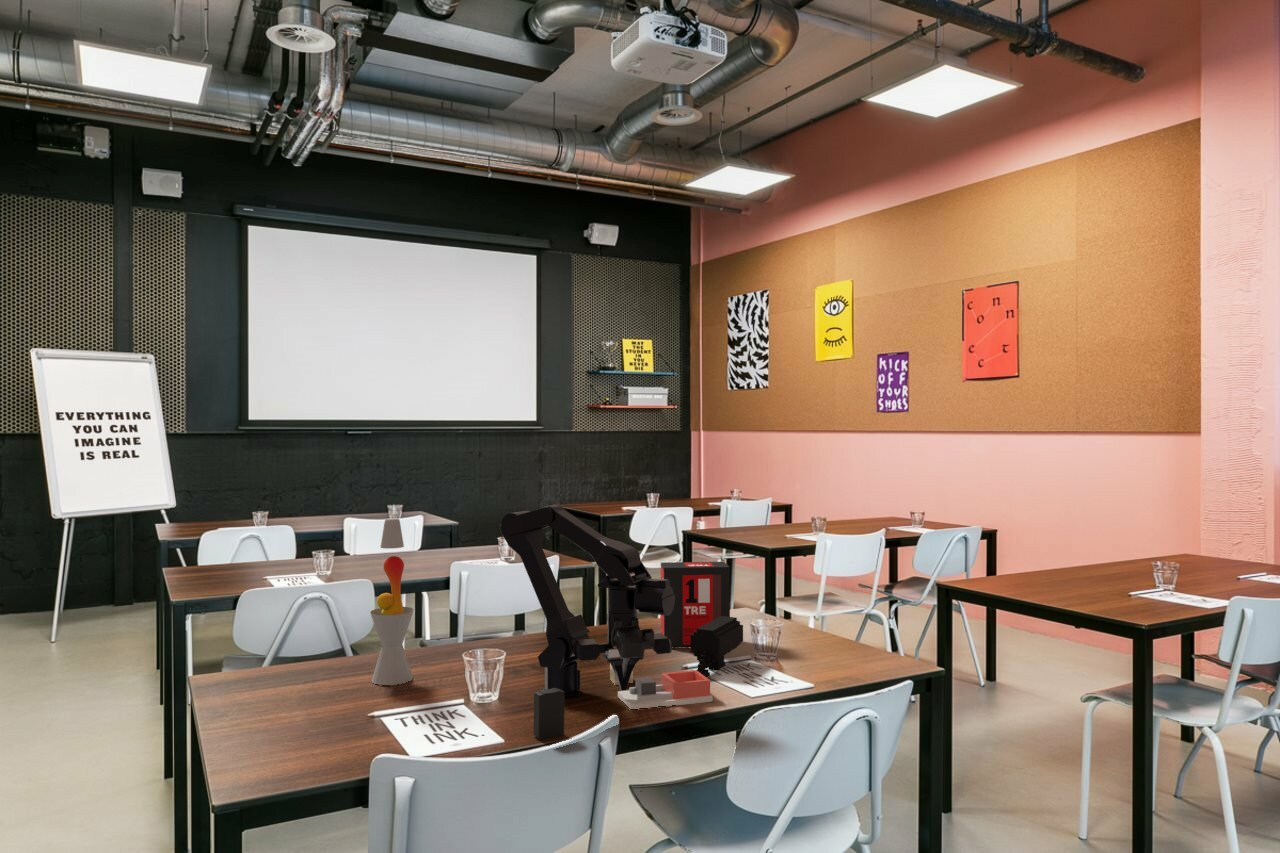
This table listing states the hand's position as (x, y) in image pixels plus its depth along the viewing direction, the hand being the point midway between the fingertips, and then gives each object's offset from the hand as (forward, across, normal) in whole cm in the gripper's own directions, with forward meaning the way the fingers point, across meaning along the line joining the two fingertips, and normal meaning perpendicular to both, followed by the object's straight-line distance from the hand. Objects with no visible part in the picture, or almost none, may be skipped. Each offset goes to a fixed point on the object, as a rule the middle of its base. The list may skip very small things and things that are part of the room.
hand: (622, 690), depth 162 cm
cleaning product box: (+3, +30, +40) cm, 51 cm away
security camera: (+3, +27, +18) cm, 32 cm away
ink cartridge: (+3, -17, -13) cm, 22 cm away
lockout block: (+3, +4, +14) cm, 15 cm away
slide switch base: (+3, +9, 0) cm, 9 cm away
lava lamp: (+3, -44, +31) cm, 53 cm away
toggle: (+1, +5, 0) cm, 5 cm away
